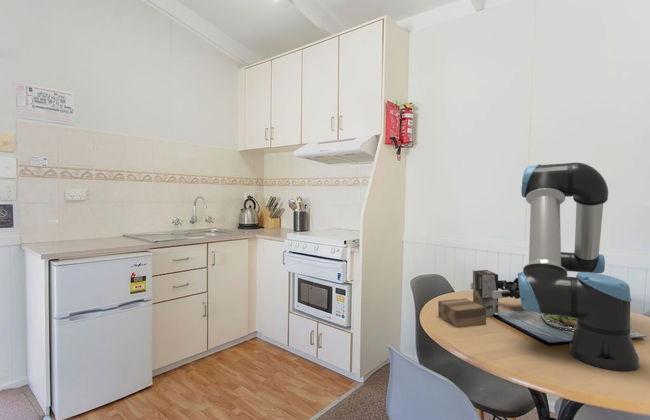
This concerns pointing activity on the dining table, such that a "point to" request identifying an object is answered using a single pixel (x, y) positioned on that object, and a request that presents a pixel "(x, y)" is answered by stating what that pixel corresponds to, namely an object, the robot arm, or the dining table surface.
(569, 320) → the salad plate
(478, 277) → the coffee box
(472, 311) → the walnut stand
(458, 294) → the dining table surface
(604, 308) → the robot arm
